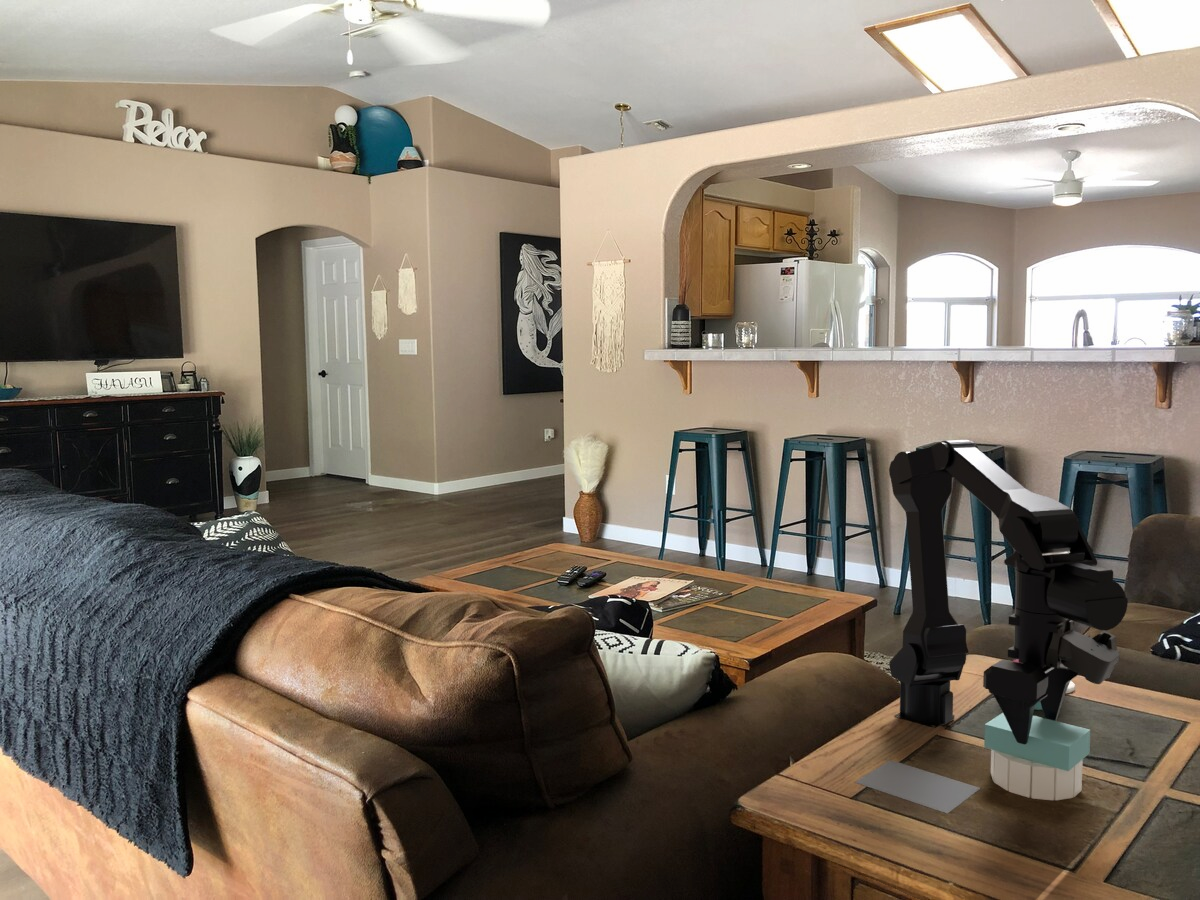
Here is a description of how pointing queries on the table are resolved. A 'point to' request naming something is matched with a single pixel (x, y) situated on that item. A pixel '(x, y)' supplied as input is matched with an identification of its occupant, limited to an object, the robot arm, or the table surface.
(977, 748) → the table surface
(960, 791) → the mat
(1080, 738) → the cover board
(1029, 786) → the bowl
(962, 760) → the table surface
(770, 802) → the table surface
